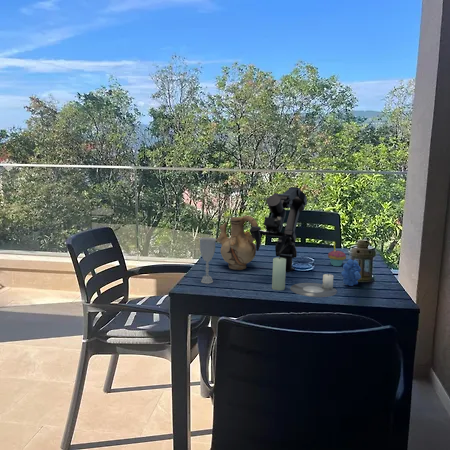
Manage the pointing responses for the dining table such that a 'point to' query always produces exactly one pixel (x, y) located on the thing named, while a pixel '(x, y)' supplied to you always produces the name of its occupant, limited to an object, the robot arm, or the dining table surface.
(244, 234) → the ceramic vessel
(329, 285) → the ivory candle
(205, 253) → the chalice
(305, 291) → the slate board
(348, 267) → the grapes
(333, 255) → the cupcake
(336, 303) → the dining table surface
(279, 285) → the pillar candle
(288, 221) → the robot arm
